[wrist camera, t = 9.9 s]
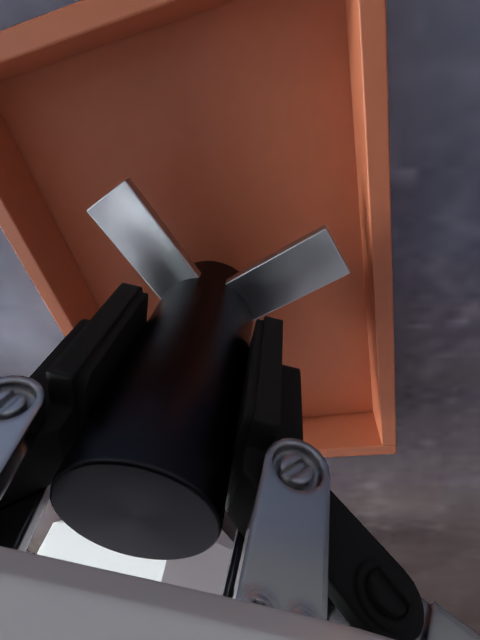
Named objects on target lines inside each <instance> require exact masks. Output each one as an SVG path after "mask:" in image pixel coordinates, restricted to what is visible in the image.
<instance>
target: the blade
mask: <svg viewBox="0 0 480 640" xmlns="http://www.w3.org/2000/svg"><path fill="white" fill-rule="evenodd" d="M87 212H88V213H89V215H90V216H91V217H92V218H93V219H94V221H95V222H96V223H97V224H98V225H99V227H100V228H101V229H102V230H103V231H104V232H105V234H106V235H107V236H108V237H109V238H110V240H111V241H112V242H113V243H114V244H115V246H116V247H117V248H118V249H119V250H120V252H121V253H122V254H123V255H124V256H125V258H126V259H127V260H128V261H129V262H130V263H131V265H132V266H133V267H134V268H135V269H136V271H137V272H138V273H139V274H140V275H141V277H142V278H143V279H144V280H145V281H146V283H147V284H148V285H149V286H150V287H151V289H152V290H153V291H154V292H155V293H156V295H157V296H158V297H159V298H160V299H161V300H160V301H159V303H158V305H157V306H156V308H155V310H154V311H153V313H152V315H151V316H150V318H149V320H148V321H147V323H146V325H145V326H144V328H143V330H142V331H141V333H140V335H139V336H138V338H137V339H136V341H135V343H134V344H133V346H132V348H131V349H130V351H129V353H128V354H127V356H126V358H125V359H124V361H123V363H122V364H121V366H120V368H119V369H118V371H117V373H116V374H115V376H114V378H113V379H112V381H111V383H110V384H109V386H108V388H107V389H106V391H105V393H104V394H103V396H102V397H101V399H100V401H99V402H98V404H97V406H96V407H95V409H94V411H93V412H92V414H91V416H90V417H89V419H88V421H87V422H86V424H85V426H84V427H83V429H82V431H81V432H80V434H79V436H78V437H77V439H76V441H75V442H74V444H73V446H72V447H71V449H70V451H69V452H68V454H67V456H66V457H65V459H64V460H63V462H62V464H61V465H60V467H59V469H58V470H57V472H56V474H55V475H54V477H53V479H52V482H51V484H50V492H49V494H50V501H51V503H52V506H53V508H54V510H55V512H56V513H57V514H58V516H59V517H60V518H61V519H62V520H63V521H64V522H65V523H66V524H67V525H68V526H69V527H70V528H71V529H72V530H74V531H75V532H77V533H78V534H79V535H81V536H83V537H84V538H86V539H88V540H89V541H91V542H93V543H95V544H97V545H100V546H102V547H104V548H107V549H109V550H112V551H115V552H118V553H121V554H125V555H129V556H133V557H138V558H144V559H153V560H176V559H184V558H189V557H192V556H196V555H198V554H201V553H203V552H205V551H206V550H208V549H209V548H211V547H212V546H213V545H214V544H215V542H216V541H217V540H218V538H219V536H220V534H221V531H222V526H223V519H224V513H225V506H226V499H227V493H228V486H229V479H230V473H231V466H232V459H233V454H232V453H233V447H234V440H235V434H236V427H237V421H238V415H239V408H240V402H241V395H242V389H243V382H244V376H245V369H246V363H247V357H248V350H249V345H250V342H251V334H252V328H253V321H254V320H256V319H258V318H260V317H262V316H264V315H266V314H268V313H270V312H272V311H274V310H276V309H278V308H281V307H283V306H285V305H287V304H289V303H291V302H293V301H295V300H297V299H299V298H301V297H303V296H305V295H307V294H309V293H311V292H313V291H315V290H317V289H319V288H321V287H323V286H325V285H327V284H329V283H331V282H334V281H336V280H338V279H340V278H342V277H344V276H346V275H348V274H350V269H349V267H348V265H347V263H346V261H345V259H344V257H343V256H342V254H341V252H340V250H339V248H338V246H337V245H336V243H335V241H334V239H333V237H332V235H331V233H330V232H329V230H328V228H327V226H326V225H325V224H324V225H322V226H320V227H319V228H317V229H315V230H313V231H311V232H310V233H308V234H306V235H304V236H302V237H301V238H299V239H297V240H295V241H294V242H292V243H290V244H288V245H286V246H285V247H283V248H281V249H279V250H277V251H276V252H274V253H272V254H270V255H269V256H267V257H265V258H263V259H261V260H260V261H258V262H256V263H254V264H252V265H251V266H249V267H247V268H245V269H244V270H242V271H240V272H239V271H238V270H236V269H235V268H233V267H231V266H229V265H227V264H224V263H221V262H216V261H199V262H195V263H194V262H193V261H192V260H191V258H190V257H189V256H188V254H187V253H186V252H185V250H184V249H183V248H182V246H181V245H180V244H179V242H178V241H177V240H176V238H175V237H174V236H173V234H172V233H171V232H170V230H169V229H168V228H167V226H166V225H165V224H164V222H163V221H162V220H161V218H160V217H159V216H158V214H157V213H156V212H155V210H154V209H153V208H152V206H151V205H150V204H149V202H148V201H147V200H146V198H145V197H144V196H143V194H142V193H141V192H140V190H139V189H138V188H137V186H136V185H135V184H134V183H133V181H132V180H131V179H130V178H127V179H126V180H124V181H123V182H121V183H120V184H119V185H117V186H116V187H115V188H114V189H112V190H111V191H110V192H109V193H107V194H106V195H105V196H104V197H102V198H101V199H100V200H98V201H97V202H96V203H95V204H93V205H92V206H91V207H90V208H88V209H87Z"/></svg>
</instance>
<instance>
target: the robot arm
mask: <svg viewBox="0 0 480 640" xmlns="http://www.w3.org/2000/svg"><path fill="white" fill-rule="evenodd" d="M147 310H148V293H144V292H143V288H142V287H140V286H136V285H131V284H127V283H121V284H120V286H119V287H118V288H117V289H116V290H115V291H114V293H113V294H112V295H111V296H110V297H109V298H108V300H107V301H106V302H105V303H104V304H103V305H102V307H101V308H100V309H99V310H98V311H97V312H96V314H95V315H94V316H93V317H92V318H91V319H90V320H88V319H82V320H81V321H80V322H78V324H77V325H76V326H75V327H74V328H73V329H72V330H71V331H70V333H69V334H68V335H67V336H66V337H65V338H64V339H63V340H62V341H61V343H60V344H59V345H58V346H57V347H56V348H55V349H54V350H53V352H52V353H51V354H50V355H49V356H48V357H47V358H46V359H45V360H44V362H43V363H42V364H41V365H40V366H39V367H38V368H37V369H36V371H35V372H34V373H33V374H32V375H31V376H30V377H25V376H6V377H0V640H480V636H479V635H478V634H477V633H475V632H474V631H473V630H472V629H470V628H469V627H468V626H466V625H465V624H464V623H462V622H461V621H460V620H458V619H457V618H456V617H454V616H453V615H452V614H451V613H449V612H448V611H447V610H445V609H444V608H443V607H441V606H440V605H439V604H437V603H436V602H435V601H434V602H433V603H432V604H429V603H428V602H426V601H425V600H424V599H422V598H421V596H420V594H419V592H418V590H417V588H416V586H415V584H414V582H413V581H412V579H411V578H410V577H409V575H408V574H407V573H406V571H405V570H404V569H403V568H402V567H401V566H400V565H399V564H398V562H397V561H396V560H395V559H394V558H393V557H392V556H391V555H390V554H389V553H388V552H387V551H386V549H385V548H384V547H383V546H382V545H381V544H380V543H379V542H378V541H377V540H376V539H375V538H374V537H373V535H372V534H371V533H370V532H369V531H368V530H367V529H366V528H365V527H364V526H363V525H362V524H361V522H360V521H359V520H358V519H357V518H356V517H355V516H354V515H353V514H352V513H351V512H350V511H349V510H348V508H347V507H346V506H345V505H344V504H343V503H342V502H341V501H340V500H339V499H338V498H337V497H336V496H335V494H334V493H333V492H332V491H331V490H330V471H329V466H328V464H327V462H326V460H325V458H324V457H323V456H322V454H321V453H320V452H319V451H318V450H317V449H316V448H314V447H313V446H312V445H311V444H309V443H307V442H304V441H303V420H302V395H301V372H300V369H299V368H295V367H291V366H286V365H282V350H283V320H281V319H277V318H272V317H268V316H265V317H264V320H260V319H257V320H256V323H255V327H254V331H253V334H252V338H251V342H250V345H249V350H248V357H247V363H246V369H245V376H244V382H243V389H242V395H241V402H240V408H239V415H238V421H237V427H236V434H235V440H234V447H233V453H232V454H233V459H232V466H231V473H230V479H229V486H228V493H227V499H226V506H225V509H226V510H228V516H229V517H230V519H231V520H232V522H233V523H234V524H235V526H236V527H237V530H236V534H235V538H234V542H233V547H232V551H231V555H230V559H229V563H228V567H227V572H226V576H225V580H224V584H223V588H222V593H221V596H220V595H216V594H212V593H207V592H203V591H198V590H194V589H190V588H185V587H181V586H177V585H172V584H168V583H163V582H159V581H155V580H150V579H146V578H141V577H137V576H132V575H128V574H123V573H119V572H114V571H110V570H105V569H101V568H96V567H92V566H87V565H83V564H78V563H74V562H69V561H65V560H60V559H56V558H51V557H47V556H42V555H38V554H33V553H29V552H26V550H27V548H28V545H29V543H30V541H31V539H32V536H33V534H34V532H35V530H36V527H37V525H38V523H39V521H40V518H41V516H42V514H43V512H44V510H45V507H46V505H47V503H48V501H49V498H50V494H49V492H50V484H51V482H52V479H53V477H54V475H55V474H56V472H57V470H58V469H59V467H60V465H61V464H62V462H63V460H64V459H65V457H66V456H67V454H68V452H69V451H70V449H71V447H72V446H73V444H74V442H75V441H76V439H77V437H78V436H79V434H80V432H81V431H82V429H83V427H84V426H85V424H86V422H87V421H88V419H89V417H90V416H91V414H92V412H93V411H94V409H95V407H96V406H97V404H98V402H99V401H100V399H101V397H102V396H103V394H104V393H105V391H106V389H107V388H108V386H109V384H110V383H111V381H112V379H113V378H114V376H115V374H116V373H117V371H118V369H119V368H120V366H121V364H122V363H123V361H124V359H125V358H126V356H127V354H128V353H129V351H130V349H131V348H132V346H133V344H134V343H135V341H136V339H137V338H138V336H139V335H140V333H141V331H142V330H143V328H144V326H145V325H146V323H147Z"/></svg>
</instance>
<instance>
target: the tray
mask: <svg viewBox="0 0 480 640" xmlns="http://www.w3.org/2000/svg"><path fill="white" fill-rule="evenodd" d="M127 178H130V179H131V180H132V181H133V183H134V184H135V185H136V186H137V188H138V189H139V190H140V192H141V193H142V194H143V196H144V197H145V198H146V200H147V201H148V202H149V204H150V205H151V206H152V208H153V209H154V210H155V212H156V213H157V214H158V216H159V217H160V218H161V220H162V221H163V222H164V224H165V225H166V226H167V228H168V229H169V230H170V232H171V233H172V234H173V236H174V237H175V238H176V240H177V241H178V242H179V244H180V245H181V246H182V248H183V249H184V250H185V252H186V253H187V254H188V256H189V257H190V258H191V260H192V261H193V262H194V263H195V262H199V261H216V262H221V263H224V264H227V265H229V266H231V267H233V268H235V269H236V270H238V271H239V272H240V271H242V270H244V269H245V268H247V267H249V266H251V265H252V264H254V263H256V262H258V261H260V260H261V259H263V258H265V257H267V256H269V255H270V254H272V253H274V252H276V251H277V250H279V249H281V248H283V247H285V246H286V245H288V244H290V243H292V242H294V241H295V240H297V239H299V238H301V237H302V236H304V235H306V234H308V233H310V232H311V231H313V230H315V229H317V228H319V227H320V226H322V225H324V224H325V225H326V226H327V228H328V230H329V232H330V233H331V235H332V237H333V239H334V241H335V243H336V245H337V246H338V248H339V250H340V252H341V254H342V256H343V257H344V259H345V261H346V263H347V265H348V267H349V269H350V274H348V275H346V276H344V277H342V278H340V279H338V280H336V281H334V282H331V283H329V284H327V285H325V286H323V287H321V288H319V289H317V290H315V291H313V292H311V293H309V294H307V295H305V296H303V297H301V298H299V299H297V300H295V301H293V302H291V303H289V304H287V305H285V306H283V307H281V308H278V309H276V310H274V311H272V312H270V313H268V314H266V315H264V316H262V317H260V318H258V319H260V320H264V317H265V316H268V317H272V318H277V319H281V320H283V350H282V365H286V366H291V367H295V368H299V369H300V372H301V395H302V420H303V441H304V442H307V443H309V444H311V445H312V446H313V447H314V448H316V449H317V450H318V451H319V452H320V453H321V454H322V456H323V457H324V458H326V457H344V456H362V455H381V454H396V452H397V451H396V403H395V360H394V316H393V273H392V229H391V186H390V142H389V99H388V55H387V12H386V0H81V1H78V2H75V3H73V4H70V5H67V6H65V7H62V8H59V9H57V10H54V11H52V12H49V13H46V14H44V15H41V16H38V17H36V18H33V19H30V20H28V21H25V22H22V23H20V24H17V25H14V26H12V27H9V28H7V29H4V30H1V31H0V227H1V229H2V231H3V232H4V234H5V236H6V237H7V239H8V241H9V242H10V244H11V246H12V248H13V249H14V251H15V253H16V254H17V256H18V258H19V259H20V261H21V263H22V265H23V266H24V268H25V270H26V271H27V273H28V275H29V277H30V278H31V280H32V282H33V283H34V285H35V287H36V288H37V290H38V292H39V294H40V295H41V297H42V299H43V300H44V302H45V304H46V305H47V307H48V309H49V311H50V312H51V314H52V316H53V317H54V319H55V321H56V322H57V324H58V326H59V328H60V329H61V331H62V333H63V334H64V336H65V337H66V336H67V335H68V334H69V333H70V331H71V330H72V329H73V328H74V327H75V326H76V325H77V324H78V322H80V321H81V320H82V319H88V320H90V319H91V318H92V317H93V316H94V315H95V314H96V312H97V311H98V310H99V309H100V308H101V307H102V305H103V304H104V303H105V302H106V301H107V300H108V298H109V297H110V296H111V295H112V294H113V293H114V291H115V290H116V289H117V288H118V287H119V286H120V284H121V283H127V284H131V285H136V286H140V287H142V288H143V292H144V293H148V310H147V321H148V320H149V318H150V316H151V315H152V313H153V311H154V310H155V308H156V306H157V305H158V303H159V301H160V300H161V299H160V298H159V297H158V296H157V295H156V293H155V292H154V291H153V290H152V289H151V287H150V286H149V285H148V284H147V283H146V281H145V280H144V279H143V278H142V277H141V275H140V274H139V273H138V272H137V271H136V269H135V268H134V267H133V266H132V265H131V263H130V262H129V261H128V260H127V259H126V258H125V256H124V255H123V254H122V253H121V252H120V250H119V249H118V248H117V247H116V246H115V244H114V243H113V242H112V241H111V240H110V238H109V237H108V236H107V235H106V234H105V232H104V231H103V230H102V229H101V228H100V227H99V225H98V224H97V223H96V222H95V221H94V219H93V218H92V217H91V216H90V215H89V213H88V212H87V209H88V208H90V207H91V206H92V205H93V204H95V203H96V202H97V201H98V200H100V199H101V198H102V197H104V196H105V195H106V194H107V193H109V192H110V191H111V190H112V189H114V188H115V187H116V186H117V185H119V184H120V183H121V182H123V181H124V180H126V179H127ZM256 320H257V319H256ZM256 320H254V321H253V328H252V334H253V331H254V327H255V323H256ZM252 334H251V338H252Z"/></svg>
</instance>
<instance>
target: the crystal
mask: <svg viewBox="0 0 480 640" xmlns="http://www.w3.org/2000/svg"><path fill="white" fill-rule="evenodd" d="M232 547H233V541H232V540H231V539H230V538H229V537H228V536H227V534H226V533H225V532H224V531H223V530H222V531H221V534H220V536H219V538H218V540H217V541H216V542H215V544H214V545H213V546H212V547H211V548H209V549H208V550H206V551H205V552H203V553H201V554H198V555H196V556H192V557H189V558H184V559H176V560H153V559H144V558H138V557H133V556H129V555H125V554H121V553H118V552H115V551H112V550H109V549H107V548H104V547H102V546H100V545H97V544H95V543H93V542H91V541H89V540H88V539H86V538H84V537H83V536H81V535H79V534H78V533H77V532H75V531H74V530H72V529H71V528H70V527H69V526H68V525H67V524H66V523H65V522H64V521H63V520H62V521H58V522H54V523H53V524H52V526H51V528H50V530H49V532H48V534H47V536H46V537H45V539H44V541H43V543H42V545H41V547H40V549H39V550H38V552H37V554H38V555H42V556H47V557H51V558H56V559H60V560H65V561H69V562H74V563H78V564H83V565H87V566H92V567H96V568H101V569H105V570H110V571H114V572H119V573H123V574H128V575H132V576H137V577H141V578H146V579H150V580H155V581H159V582H163V583H168V584H172V585H177V586H181V587H185V588H190V589H194V590H198V591H203V592H207V593H212V594H216V595H220V596H221V593H222V588H223V584H224V580H225V576H226V572H227V567H228V563H229V559H230V555H231V551H232Z"/></svg>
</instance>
